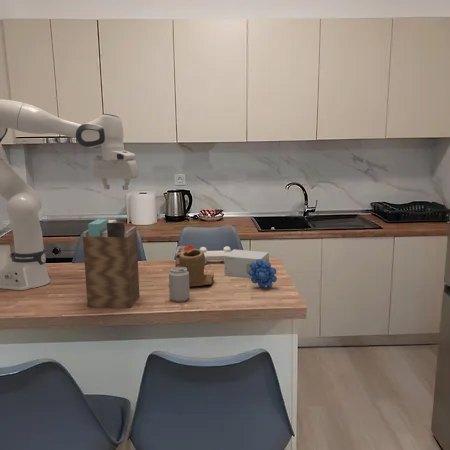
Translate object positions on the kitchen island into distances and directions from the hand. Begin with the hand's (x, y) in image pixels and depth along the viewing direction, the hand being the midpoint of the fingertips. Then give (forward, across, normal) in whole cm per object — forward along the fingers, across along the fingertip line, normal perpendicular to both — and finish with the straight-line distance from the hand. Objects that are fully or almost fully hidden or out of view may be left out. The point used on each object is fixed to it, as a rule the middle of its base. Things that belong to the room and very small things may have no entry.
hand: (116, 189), depth 192 cm
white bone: (+41, +22, +43) cm, 63 cm away
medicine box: (+40, +10, +34) cm, 54 cm away
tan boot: (+40, +31, +9) cm, 51 cm away
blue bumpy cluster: (+41, +57, +16) cm, 72 cm away
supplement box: (+41, +43, +33) cm, 68 cm away
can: (+40, +33, -8) cm, 53 cm away
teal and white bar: (+13, +7, -18) cm, 23 cm away
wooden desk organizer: (+39, +12, -21) cm, 46 cm away
